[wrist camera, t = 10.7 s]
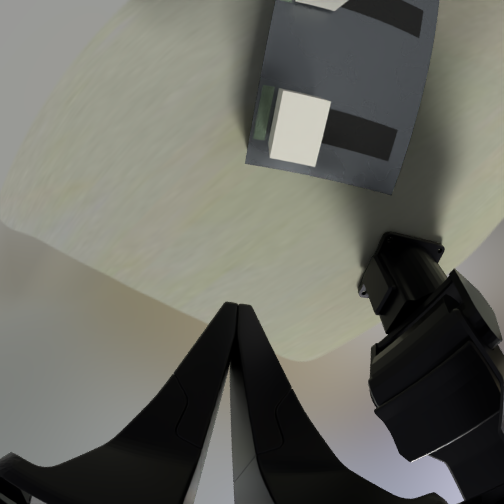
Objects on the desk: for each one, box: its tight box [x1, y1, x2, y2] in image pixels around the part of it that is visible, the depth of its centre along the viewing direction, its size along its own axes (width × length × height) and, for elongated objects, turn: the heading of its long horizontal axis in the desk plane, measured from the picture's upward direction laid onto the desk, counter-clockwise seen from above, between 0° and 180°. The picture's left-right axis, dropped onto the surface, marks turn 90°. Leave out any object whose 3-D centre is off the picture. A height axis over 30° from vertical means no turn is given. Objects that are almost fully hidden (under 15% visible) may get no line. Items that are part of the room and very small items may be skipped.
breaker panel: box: [245, 0, 439, 195], centre depth 13 cm, size 9×14×3 cm, turn 171°
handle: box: [268, 88, 331, 167], centre depth 12 cm, size 2×3×3 cm, turn 171°
